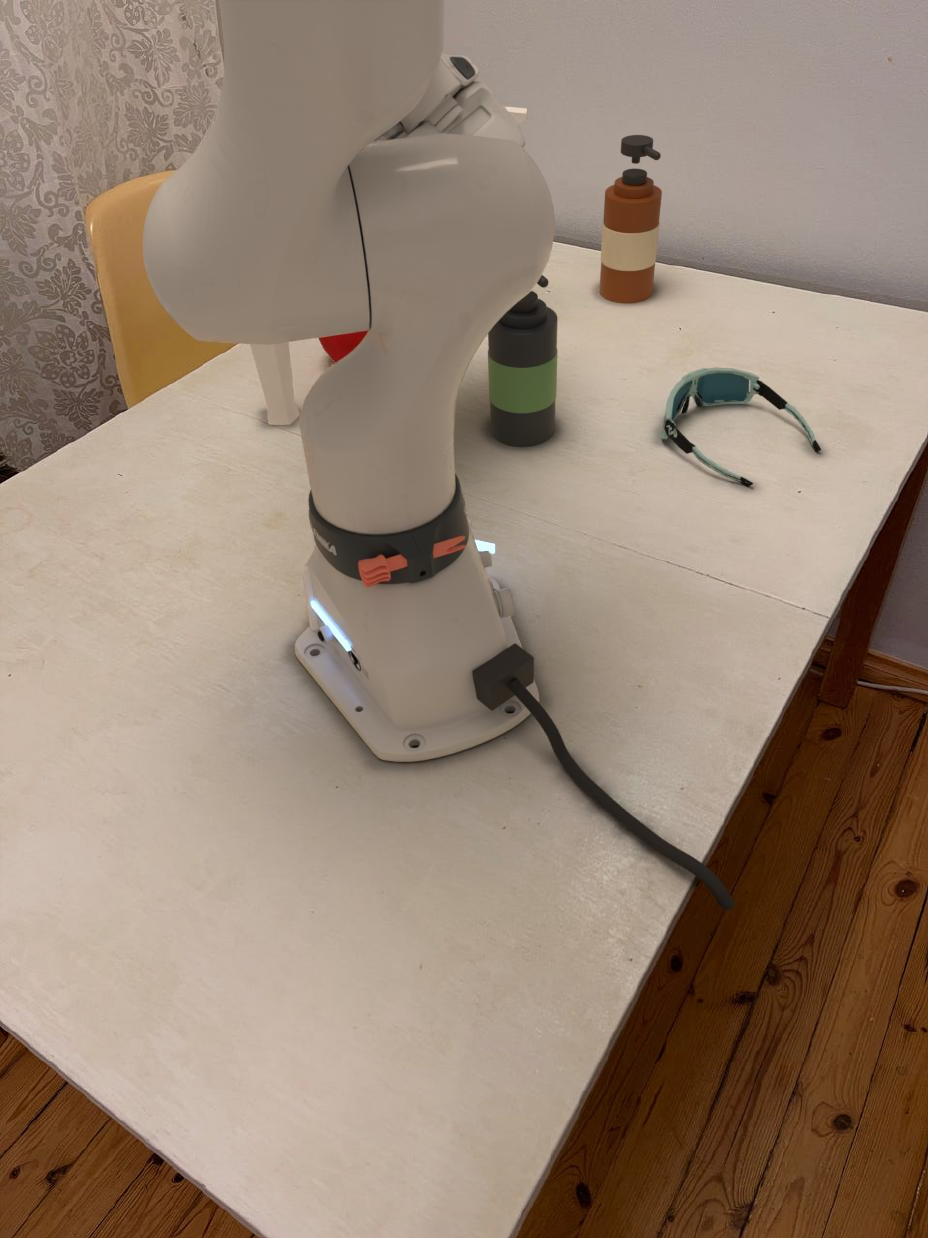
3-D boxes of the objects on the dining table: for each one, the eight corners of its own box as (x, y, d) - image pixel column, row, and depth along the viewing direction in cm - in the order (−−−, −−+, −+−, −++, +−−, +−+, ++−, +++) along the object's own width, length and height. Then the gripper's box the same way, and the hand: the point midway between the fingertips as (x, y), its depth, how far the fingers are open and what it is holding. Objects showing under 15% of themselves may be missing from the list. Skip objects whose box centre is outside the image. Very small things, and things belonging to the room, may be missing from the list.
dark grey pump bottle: (567, 437, 104) (571, 302, 94) (507, 454, 102) (505, 318, 92) (537, 406, 109) (538, 274, 99) (479, 421, 107) (474, 289, 97)
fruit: (313, 377, 116) (299, 298, 109) (333, 341, 122) (322, 264, 116) (387, 381, 115) (379, 301, 108) (404, 344, 121) (397, 266, 114)
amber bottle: (663, 296, 128) (675, 175, 117) (615, 308, 126) (624, 186, 115) (635, 275, 132) (644, 158, 122) (589, 287, 131) (594, 168, 120)
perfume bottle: (306, 405, 111) (284, 280, 101) (298, 426, 108) (274, 299, 98) (268, 405, 112) (242, 280, 101) (258, 426, 109) (230, 298, 98)
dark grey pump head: (671, 171, 115) (673, 148, 113) (643, 177, 114) (645, 154, 112) (641, 155, 120) (642, 132, 118) (614, 160, 119) (615, 137, 117)
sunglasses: (727, 387, 110) (738, 349, 106) (827, 460, 102) (843, 422, 98) (634, 429, 104) (642, 391, 101) (731, 509, 97) (744, 471, 93)
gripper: (385, 117, 78) (500, 251, 82) (475, 51, 91) (571, 168, 95) (342, 170, 82) (454, 294, 86) (435, 99, 96) (528, 209, 100)
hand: (516, 227), depth 91 cm, fingers closed
